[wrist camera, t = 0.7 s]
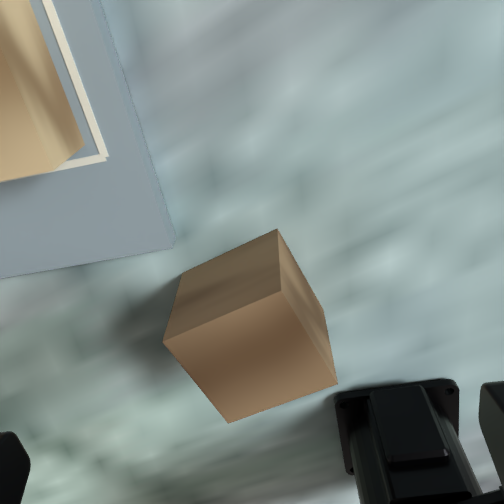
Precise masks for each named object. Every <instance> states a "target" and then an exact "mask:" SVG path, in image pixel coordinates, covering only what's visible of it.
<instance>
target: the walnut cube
mask: <svg viewBox="0 0 504 504" xmlns="http://www.w3.org/2000/svg"><path fill="white" fill-rule="evenodd" d="M162 342H163V343H164V344H165V346H166V347H167V348H168V349H169V351H170V352H171V353H172V354H173V356H174V357H175V358H176V359H177V361H178V362H179V363H180V364H181V366H182V367H183V368H184V369H185V371H186V372H187V373H188V374H189V375H190V377H191V378H192V379H193V380H194V382H195V383H196V384H197V385H198V387H199V388H200V389H201V390H202V392H203V393H204V394H205V395H206V397H207V398H208V399H209V400H210V402H211V403H212V404H213V405H214V407H215V408H216V409H217V410H218V411H219V413H220V414H221V415H222V416H223V418H224V419H225V420H226V421H227V423H231V422H234V421H237V420H240V419H242V418H245V417H248V416H251V415H253V414H256V413H259V412H262V411H264V410H267V409H270V408H273V407H275V406H278V405H281V404H284V403H287V402H289V401H292V400H295V399H298V398H300V397H303V396H306V395H309V394H311V393H314V392H317V391H320V390H323V389H325V388H328V387H331V386H334V385H336V384H338V382H337V377H336V372H335V367H334V362H333V356H332V351H331V346H330V341H329V336H328V331H327V326H326V321H325V316H324V311H323V308H322V307H321V305H320V303H319V301H318V299H317V298H316V296H315V294H314V292H313V291H312V289H311V287H310V285H309V284H308V282H307V280H306V278H305V276H304V275H303V273H302V271H301V269H300V268H299V266H298V264H297V262H296V261H295V259H294V257H293V255H292V254H291V252H290V250H289V248H288V246H287V245H286V243H285V241H284V239H283V238H282V236H281V234H280V232H279V231H278V229H275V230H273V231H271V232H269V233H267V234H264V235H262V236H260V237H258V238H256V239H254V240H252V241H249V242H247V243H245V244H243V245H241V246H239V247H237V248H235V249H232V250H230V251H228V252H226V253H224V254H222V255H220V256H218V257H215V258H213V259H211V260H209V261H207V262H205V263H203V264H200V265H198V266H196V267H194V268H192V269H190V270H188V271H186V272H183V273H182V276H181V280H180V283H179V286H178V290H177V293H176V297H175V300H174V304H173V307H172V310H171V314H170V317H169V321H168V324H167V328H166V331H165V334H164V338H163V341H162Z"/></svg>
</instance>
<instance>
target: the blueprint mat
mask: <svg viewBox="0 0 504 504" xmlns="http://www.w3.org/2000/svg"><path fill="white" fill-rule="evenodd" d="M29 1H30V4H31V7H32V9H33V12H34V14H35V17H36V19H37V22H38V25H39V27H40V30H41V32H42V35H43V38H44V40H45V43H46V45H47V48H48V50H49V53H50V56H51V58H52V61H53V63H54V66H55V68H56V71H57V74H58V76H59V79H60V81H61V84H62V87H63V89H64V92H65V94H66V97H67V99H68V102H69V105H70V107H71V110H72V112H73V115H74V118H75V120H76V123H77V125H78V128H79V130H80V133H81V136H82V138H83V141H84V143H85V145H84V146H83V147H82V148H81V149H80V150H78V151H77V152H76V153H75V154H73V155H72V156H71V157H70V158H69V159H67V160H66V161H65V162H64V163H62V164H61V165H60V166H59V167H57V168H56V169H55V170H54V171H49V172H44V173H39V174H34V175H29V176H24V177H19V178H15V179H10V180H5V181H0V279H2V278H7V277H13V276H19V275H24V274H30V273H36V272H41V271H47V270H53V269H58V268H64V267H70V266H75V265H81V264H87V263H92V262H98V261H104V260H109V259H115V258H121V257H126V256H132V255H138V254H143V253H149V252H155V251H160V250H166V249H172V248H173V245H174V242H175V239H176V236H175V233H174V230H173V227H172V224H171V221H170V217H169V214H168V211H167V208H166V205H165V202H164V199H163V196H162V193H161V190H160V186H159V183H158V180H157V177H156V174H155V171H154V168H153V165H152V162H151V159H150V155H149V152H148V149H147V146H146V143H145V140H144V137H143V134H142V131H141V128H140V124H139V121H138V118H137V115H136V112H135V109H134V106H133V103H132V100H131V97H130V93H129V90H128V87H127V84H126V81H125V78H124V75H123V72H122V69H121V66H120V62H119V59H118V56H117V53H116V50H115V47H114V44H113V41H112V38H111V35H110V31H109V28H108V25H107V22H106V19H105V16H104V13H103V10H102V7H101V4H100V0H29Z"/></svg>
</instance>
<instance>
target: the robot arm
mask: <svg viewBox="0 0 504 504" xmlns="http://www.w3.org/2000/svg"><path fill="white" fill-rule="evenodd" d="M448 388H449V389H448ZM342 402H345V403H342ZM334 403H335V409H336V415H337V421H338V427H339V433H340V439H341V445H342V451H343V457H344V463H345V469H346V472H347V473H348V474H350V475H355V479H356V484H357V489H358V494H359V499H360V504H504V381H498V382H488V383H484V384H482V386H481V390H480V403H479V423H480V427H481V430H482V433H483V436H484V438H485V441H486V444H487V446H488V449H489V452H490V454H491V457H492V460H493V463H494V465H495V468H496V471H497V473H498V476H499V479H500V481H501V484H502V486H499V488H500V489H498V490H494V491H491V492H488V493H484V494H483V492H482V490H481V488H480V486H479V483H478V481H477V479H476V477H475V475H474V472H473V470H472V468H471V466H470V463H469V461H468V459H467V457H466V454H465V452H464V450H463V448H462V445H461V443H460V441H459V439H458V435H459V388H458V386H457V384H456V382H455V381H454V380H451V379H444V380H437V381H429V382H422V383H414V384H406V385H399V386H391V387H384V388H376V389H369V390H361V391H354V392H346V393H340V394H338V395H336V396H335V398H334ZM30 466H31V464H30V458H29V456H28V454H27V452H26V450H25V449H24V447H23V445H22V444H21V442H20V440H19V439H18V437H17V435H16V434H15V433H13V432H11V431H7V432H0V504H21V500H22V497H23V493H24V490H25V486H26V483H27V479H28V476H29V472H30Z"/></svg>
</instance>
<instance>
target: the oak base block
mask: <svg viewBox="0 0 504 504" xmlns="http://www.w3.org/2000/svg"><path fill="white" fill-rule="evenodd" d="M84 145H85V143H84V141H83V138H82V136H81V133H80V130H79V128H78V125H77V123H76V120H75V118H74V115H73V112H72V110H71V107H70V105H69V102H68V99H67V97H66V94H65V92H64V89H63V87H62V84H61V81H60V79H59V76H58V74H57V71H56V68H55V66H54V63H53V61H52V58H51V56H50V53H49V50H48V48H47V45H46V43H45V40H44V38H43V35H42V32H41V30H40V27H39V25H38V22H37V19H36V17H35V14H34V12H33V9H32V7H31V4H30V1H29V0H0V181H5V180H10V179H15V178H19V177H24V176H29V175H34V174H39V173H44V172H49V171H54V170H55V169H56V168H57V167H59V166H60V165H61V164H62V163H64V162H65V161H66V160H67V159H69V158H70V157H71V156H72V155H73V154H75V153H76V152H77V151H78V150H80V149H81V148H82V147H83V146H84Z"/></svg>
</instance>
